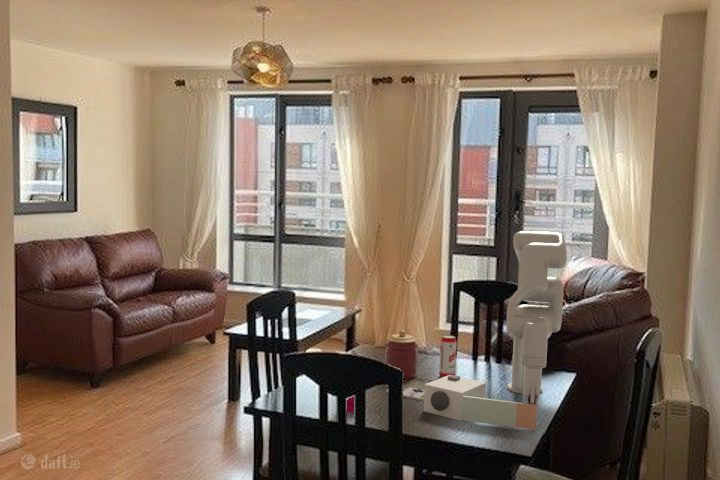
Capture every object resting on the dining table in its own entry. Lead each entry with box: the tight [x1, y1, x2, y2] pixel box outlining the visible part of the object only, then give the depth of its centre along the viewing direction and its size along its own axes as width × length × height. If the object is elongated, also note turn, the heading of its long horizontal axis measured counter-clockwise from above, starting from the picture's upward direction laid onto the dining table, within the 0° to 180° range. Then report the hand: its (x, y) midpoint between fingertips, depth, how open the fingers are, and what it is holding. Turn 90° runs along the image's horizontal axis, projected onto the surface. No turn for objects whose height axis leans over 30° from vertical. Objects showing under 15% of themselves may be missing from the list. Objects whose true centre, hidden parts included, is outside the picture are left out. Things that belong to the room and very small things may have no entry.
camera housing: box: [423, 374, 487, 422], centre depth 230 cm, size 18×14×10 cm
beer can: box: [438, 334, 457, 378], centre depth 272 cm, size 6×6×16 cm
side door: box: [462, 396, 538, 431], centre depth 216 cm, size 22×1×8 cm, turn 72°
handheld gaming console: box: [402, 387, 424, 402], centre depth 246 cm, size 10×2×15 cm
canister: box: [384, 329, 420, 380], centre depth 273 cm, size 13×13×18 cm
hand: (530, 417), depth 219 cm, fingers closed
